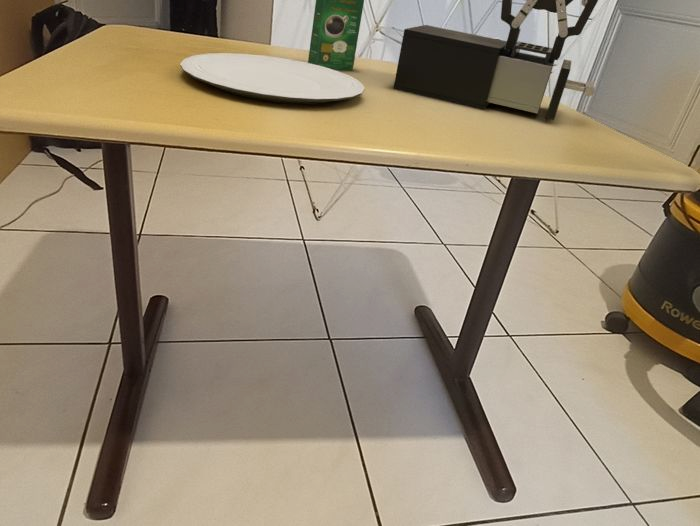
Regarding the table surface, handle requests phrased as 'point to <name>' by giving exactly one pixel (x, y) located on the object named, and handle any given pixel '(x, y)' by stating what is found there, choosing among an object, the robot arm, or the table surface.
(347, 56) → the coffee box
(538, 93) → the grey box with handle
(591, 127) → the table surface
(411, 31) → the black drawer box
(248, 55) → the plate
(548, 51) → the box
